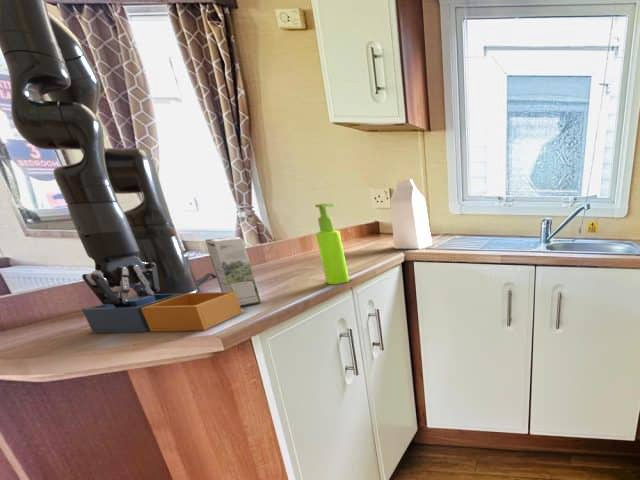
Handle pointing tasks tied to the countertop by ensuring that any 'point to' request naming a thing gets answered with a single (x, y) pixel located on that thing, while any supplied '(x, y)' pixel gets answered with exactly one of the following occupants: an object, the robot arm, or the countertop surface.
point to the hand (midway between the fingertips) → (142, 319)
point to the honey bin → (192, 311)
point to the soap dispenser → (331, 249)
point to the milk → (409, 217)
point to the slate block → (140, 300)
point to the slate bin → (120, 316)
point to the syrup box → (233, 268)
